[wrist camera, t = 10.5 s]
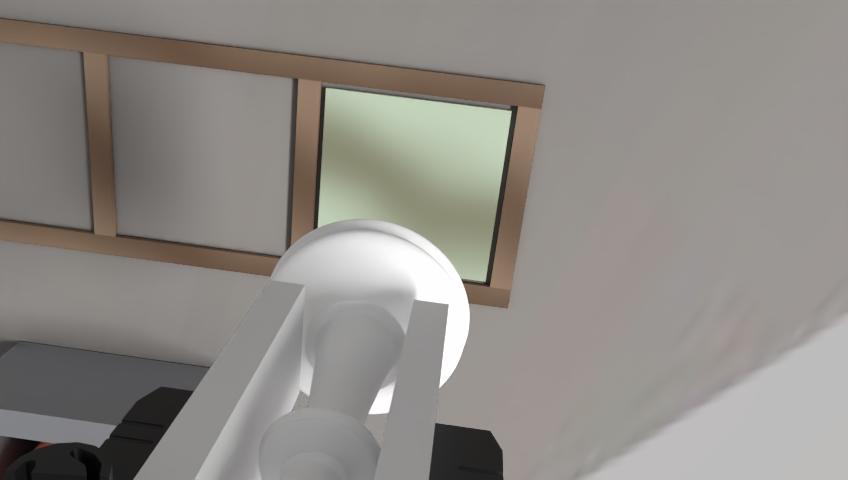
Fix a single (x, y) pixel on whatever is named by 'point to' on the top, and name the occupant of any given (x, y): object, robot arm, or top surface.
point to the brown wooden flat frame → (333, 154)
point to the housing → (74, 394)
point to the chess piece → (355, 341)
